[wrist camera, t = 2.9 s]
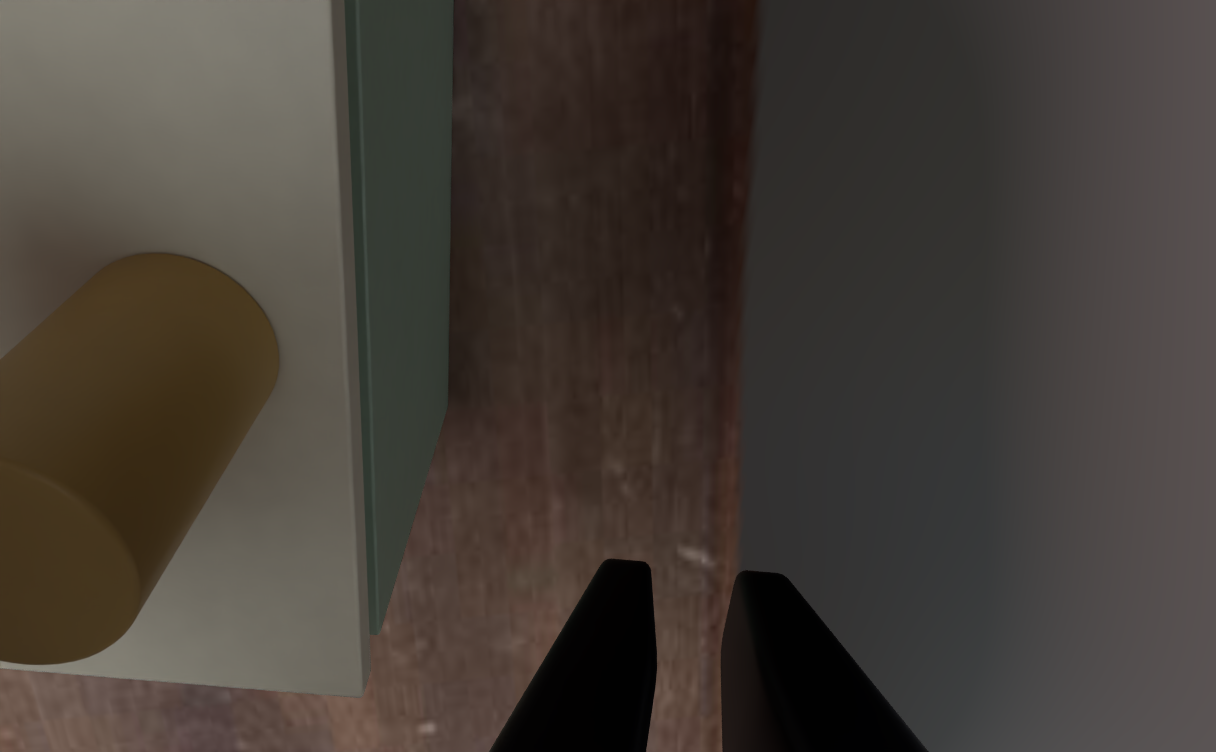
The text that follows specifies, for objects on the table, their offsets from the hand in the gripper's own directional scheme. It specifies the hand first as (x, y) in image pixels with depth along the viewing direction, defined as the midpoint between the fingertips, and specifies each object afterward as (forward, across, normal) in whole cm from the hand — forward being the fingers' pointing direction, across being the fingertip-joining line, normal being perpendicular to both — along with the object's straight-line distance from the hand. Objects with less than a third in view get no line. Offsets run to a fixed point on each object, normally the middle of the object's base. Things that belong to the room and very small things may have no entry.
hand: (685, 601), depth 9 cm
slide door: (+4, +8, 0) cm, 9 cm away
